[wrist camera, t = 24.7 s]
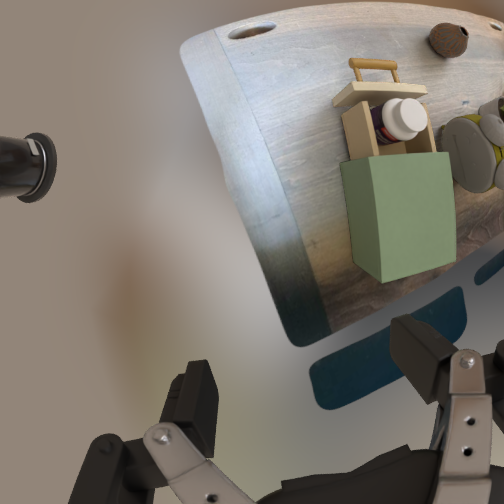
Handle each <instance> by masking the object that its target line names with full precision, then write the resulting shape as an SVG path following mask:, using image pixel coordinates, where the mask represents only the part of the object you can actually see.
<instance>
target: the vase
mask: <svg viewBox="0 0 504 504" xmlns="http://www.w3.org/2000/svg"><path fill="white" fill-rule="evenodd" d="M468 38H469V33H468V31H467V30H466V29H465V28H464V27H463V26H458V25H454V24H451V23H441V24H438V25H436V26H435V27H434V28H433V29H432V30H431V32H430V35H429V39H430V43H431V45H432V47H433V49H434V50H435V51H436V52H437V53H439V54H440V55H442V56H444V57H447V58H455V57H458V56H460V55H462V54H463V53H464V52H465V50H466V48H467V42H468Z"/></svg>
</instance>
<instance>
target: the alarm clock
mask: <svg viewBox="0 0 504 504" xmlns="http://www.w3.org/2000/svg"><path fill="white" fill-rule="evenodd" d="M441 128H442V129H443V130H444V131H443V135H442V151H443V152H449V158H450V165H451V172H452V176H453V178H454V179H455V180H456V181H457V182H458V183H459V185H460V186H462V187H463V188H464V189H466V190H468V191H470V192H473V193H483V192H486V191H488V190H490V189H492V188H494V187H495V186H496V187H497V188H499V189H502V190H504V122H503V121H502V120H501V119H500V118H499V117H497V116H495V115H493V114H487V115H484V116H480V115H475V114H470V115H465V116H460V117H456V118H454V119H452V120H450V121H449V122H448V123H447V124H446V126H444V125H442V126H441Z"/></svg>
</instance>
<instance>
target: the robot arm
mask: <svg viewBox="0 0 504 504" xmlns="http://www.w3.org/2000/svg"><path fill="white" fill-rule="evenodd" d="M47 167H48V157H47V152H46V149H45V147H44V145H43V144H42V143H41V142H40V141H37V140H33V139H28V138H27V139H21V138H12V137H4V136H0V198H6V197H15V196H22V195H23V196H28V195H32V194H34V193H35V192H37V191H38V190H39V188H40V187H41V185H42V184H43V182H44V179H45V176H46V173H47ZM389 348H390V354H391V357H392V359H393V361H394V362H395V363H396V365H397V366H398V367H399V368H400V370H401V371H402V372H403V374H404V375H405V376H406V377H407V379H408V380H409V381H410V383H411V384H412V385H413V387H414V388H415V389H416V390H417V392H418V393H419V394H420V396H421V397H422V398H423V400H424V401H425V402H426V404H427V405H428V404H430V403H432V402H434V401H436V400H437V401H438V403H439V405H438V408H437V413H436V419H435V425H434V430H433V435H432V440H431V443H430V447H429V449H420V450H412V451H411V450H410V448H409V446H408V445H407V444H406V445H404V446H401V447H399V448H396V449H394V450H392V451H389V452H387V453H384V454H381V455H379V456H377V457H376V458H374V459H372V460H371V461H369V462H367V463H365V464H364V465H362V466H360V467H358V468H357V469H355V470H353V471H351V472H347V473H336V474H318V475H310V476H305V477H301V478H295V479H290V480H283V481H281V485H282V489H279V490H276V491H274V492H272V493H270V494H268V495H266V496H264V497H263V498H261V499H260V500H258V501H257V502H254V501H253V500H252V499H251V498H250V497H249V496H248V495H246V494H245V493H244V492H243V491H242V490H241V489H240V488H238V486H236V485H235V484H234V483H233V482H232V481H231V480H230V479H229V478H228V477H227V476H226V475H225V474H224V473H223V472H222V471H221V470H220V469H219V468H218V467H217V466H216V465H215V464H214V463H213V462H212V461H211V460H209V459H208V460H207V459H206V458H213V457H214V446H215V435H216V424H217V413H218V402H219V395H218V389H217V385H216V383H215V380H214V377H213V374H212V371H211V369H210V366H209V363H208V361H207V360H198V361H189V362H188V365H187V369H186V372H185V373H184V374H178V376H177V377H176V378H175V379H174V380H173V381H172V383H171V387H170V390H169V392H168V395H167V399H166V402H165V405H164V408H163V411H162V414H161V418H160V421H159V423H158V424H155V425H153V426H152V427H150V428H149V429H148V430H147V431H146V432H145V434H144V437H143V438H140V439H136V440H131V441H126V442H123V441H122V440H121V438H120V437H119V436H117V435H115V434H103V435H101V436H99V437H97V438H96V439H95V440H93V442H92V443H91V445H90V448H89V450H88V452H87V455H86V457H85V460H84V462H83V465H82V467H81V470H80V472H79V475H78V477H77V480H76V483H75V485H74V488H73V491H72V494H71V496H70V499H69V502H68V504H153V499H154V493H155V488H159V487H164V486H170V488H171V489H172V490H173V491H174V493H175V494H176V496H177V497H178V498H179V500H180V501H181V502H182V504H504V467H500V466H495V465H491V464H490V457H491V444H492V419H493V420H494V421H495V423H496V424H497V426H498V427H499V428H500V430H501V431H502V432H503V434H504V340H501V341H500V342H499V343H498V344H497V347H496V350H495V353H491V354H487V355H483V356H481V355H480V354H479V353H478V352H476V351H474V350H470V349H463V350H458V349H457V348H456V347H455V346H454V345H453V344H452V343H451V342H449V341H448V340H447V339H446V338H445V337H444V336H441V334H440V333H439V332H438V331H436V330H435V329H434V328H433V327H432V326H431V325H429V324H427V323H424V322H422V321H416V320H415V319H414V318H413V317H412V316H410V315H409V314H405V315H401V316H399V317H395V318H393V319H392V320H391V328H390V347H389Z"/></svg>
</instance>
